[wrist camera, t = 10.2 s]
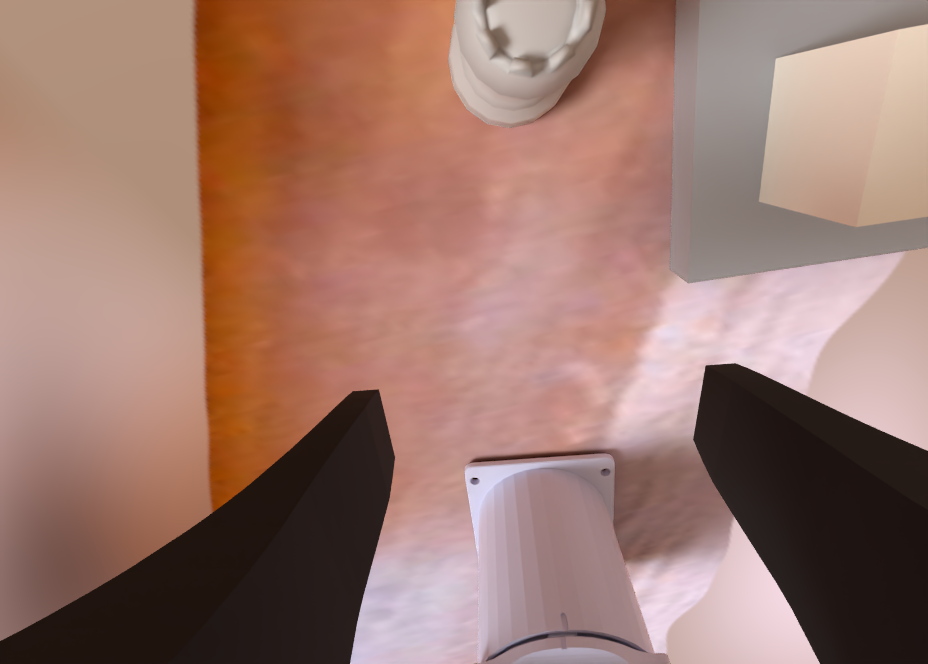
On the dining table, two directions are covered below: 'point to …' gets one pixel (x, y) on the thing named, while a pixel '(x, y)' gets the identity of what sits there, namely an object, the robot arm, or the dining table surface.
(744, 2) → the slate block
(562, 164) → the dining table surface
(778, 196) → the cream cube
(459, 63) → the rook chess piece
